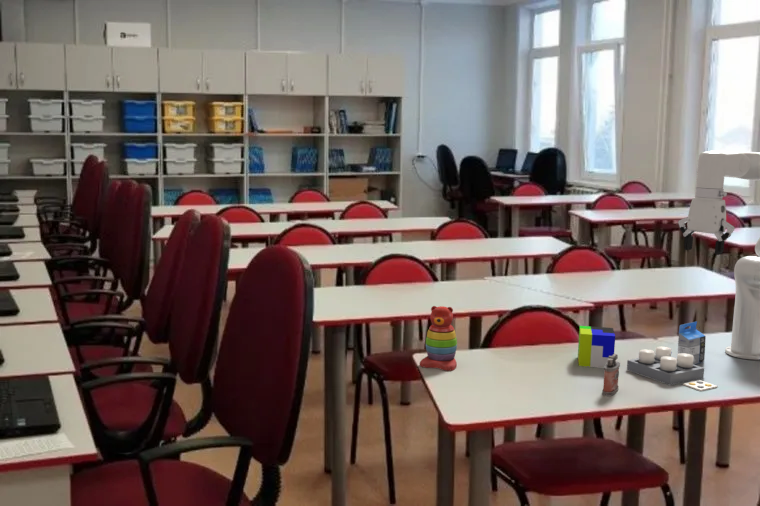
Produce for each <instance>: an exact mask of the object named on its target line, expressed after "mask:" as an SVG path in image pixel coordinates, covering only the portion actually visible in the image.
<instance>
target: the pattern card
mask: <svg viewBox="0 0 760 506" xmlns="http://www.w3.org/2000/svg"><path fill="white" fill-rule="evenodd" d="M682 386H684V387H688V388H691V389H693V390H696V391H699V392H704V391H707V390H713V389H717V388H719V387H718V385H715V384H713V383H710V382H707V381H705V380H702V379H697V380H692V381H688V382H683V383H682Z"/></svg>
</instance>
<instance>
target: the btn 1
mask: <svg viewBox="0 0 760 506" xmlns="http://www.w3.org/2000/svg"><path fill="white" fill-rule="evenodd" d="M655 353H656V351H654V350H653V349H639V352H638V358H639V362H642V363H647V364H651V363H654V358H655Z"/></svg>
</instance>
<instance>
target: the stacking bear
mask: <svg viewBox="0 0 760 506" xmlns="http://www.w3.org/2000/svg"><path fill="white" fill-rule="evenodd" d="M430 311H431V313H430V322H431V325H430V326H429V327H428V330H427V332H426V337H425V350H426V355H427V356H425V357H424V358H422V359H421V360H420V361H419V366H420V367H422V368H426V369H429V368H430V369H431V368H432V369H433V368H434V369H440V370H442V371H454V370H455V369H457V365H458V363H457V360H456V358H455V357H456V351H457V348H458V339H457V334H456V330H455V328H454V326H453V325H452V323H453V318H454V314H453V312H454V309H453V308H452V307H451V306H448V307H447V306H443V305H441V306H440V305H439V306H435V305H433V306H431V308H430Z"/></svg>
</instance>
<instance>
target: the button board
mask: <svg viewBox="0 0 760 506" xmlns="http://www.w3.org/2000/svg"><path fill="white" fill-rule="evenodd" d="M660 361H661V360H659V359H656V358H654V363H651V364H647V363H642V362H639V357H636V358H632V359H627V364H626V371H629V372H632V373H635V374H638V375H641V376H643V377H646V378H649V379H651V380H654V381H657V382H660V383H662V384H666V385H668V386H673V385H677V384H683V383H688V382H693V381H697V380H702V379H704V376H705V368H704V367H703V366H700V365H697V364H694V365H693V367H690V368H685V367H680V366H678V365H677V366H676V370H675V371H666V370H662V369H660ZM701 378H702V379H701Z"/></svg>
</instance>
